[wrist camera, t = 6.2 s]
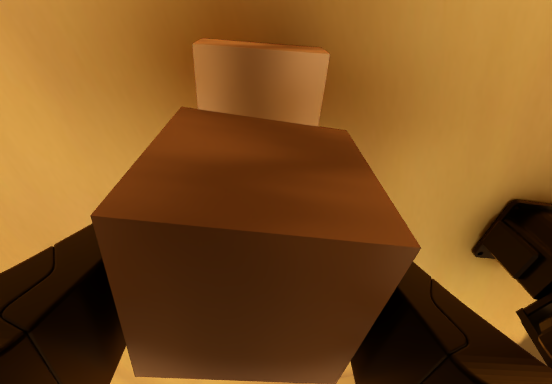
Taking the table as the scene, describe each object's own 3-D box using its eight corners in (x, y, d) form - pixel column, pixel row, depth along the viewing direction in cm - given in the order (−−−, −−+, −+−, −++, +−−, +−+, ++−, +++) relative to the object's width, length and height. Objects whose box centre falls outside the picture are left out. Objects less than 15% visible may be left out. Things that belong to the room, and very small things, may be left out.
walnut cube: (346, 130, 9) (420, 248, 4) (310, 245, 11) (335, 384, 7) (181, 106, 8) (90, 215, 4) (185, 233, 11) (134, 376, 7)
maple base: (320, 46, 17) (330, 53, 14) (305, 151, 21) (310, 171, 18) (203, 37, 16) (192, 43, 14) (210, 146, 20) (202, 166, 18)
